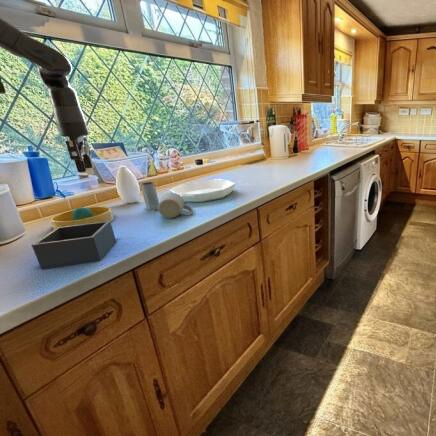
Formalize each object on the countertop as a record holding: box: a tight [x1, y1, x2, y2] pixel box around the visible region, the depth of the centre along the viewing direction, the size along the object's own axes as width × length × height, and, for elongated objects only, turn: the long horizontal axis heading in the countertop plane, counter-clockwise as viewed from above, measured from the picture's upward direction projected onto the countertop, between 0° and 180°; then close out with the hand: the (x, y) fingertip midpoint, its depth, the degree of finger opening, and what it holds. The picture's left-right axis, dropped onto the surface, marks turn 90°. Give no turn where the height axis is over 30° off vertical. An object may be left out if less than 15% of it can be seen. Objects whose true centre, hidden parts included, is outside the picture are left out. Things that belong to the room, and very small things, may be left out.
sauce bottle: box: [115, 160, 141, 204], centre depth 124 cm, size 8×8×18 cm
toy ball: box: [72, 206, 93, 220], centre depth 102 cm, size 6×6×6 cm
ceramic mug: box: [157, 192, 194, 219], centre depth 108 cm, size 11×8×8 cm
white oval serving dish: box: [168, 178, 236, 203], centre depth 133 cm, size 31×26×4 cm
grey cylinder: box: [140, 181, 160, 211], centre depth 115 cm, size 4×4×10 cm
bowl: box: [49, 205, 114, 230], centre depth 102 cm, size 16×16×4 cm
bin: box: [31, 221, 117, 270], centre depth 79 cm, size 12×12×6 cm
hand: (85, 170), depth 104 cm, fingers open, 8 cm apart
